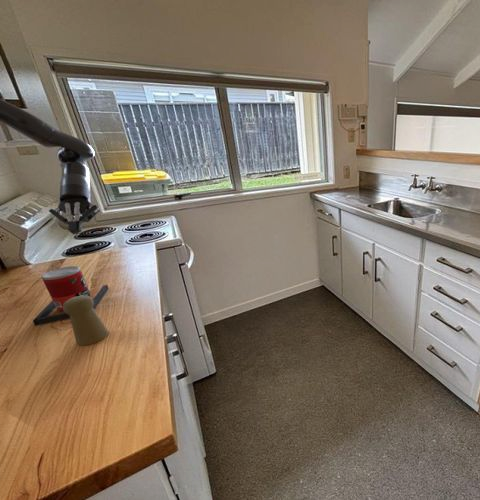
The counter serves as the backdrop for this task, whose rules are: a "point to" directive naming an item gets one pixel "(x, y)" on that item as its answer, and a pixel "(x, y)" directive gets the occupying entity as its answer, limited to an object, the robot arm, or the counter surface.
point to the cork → (85, 320)
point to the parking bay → (45, 318)
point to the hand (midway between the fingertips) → (75, 232)
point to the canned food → (65, 285)
